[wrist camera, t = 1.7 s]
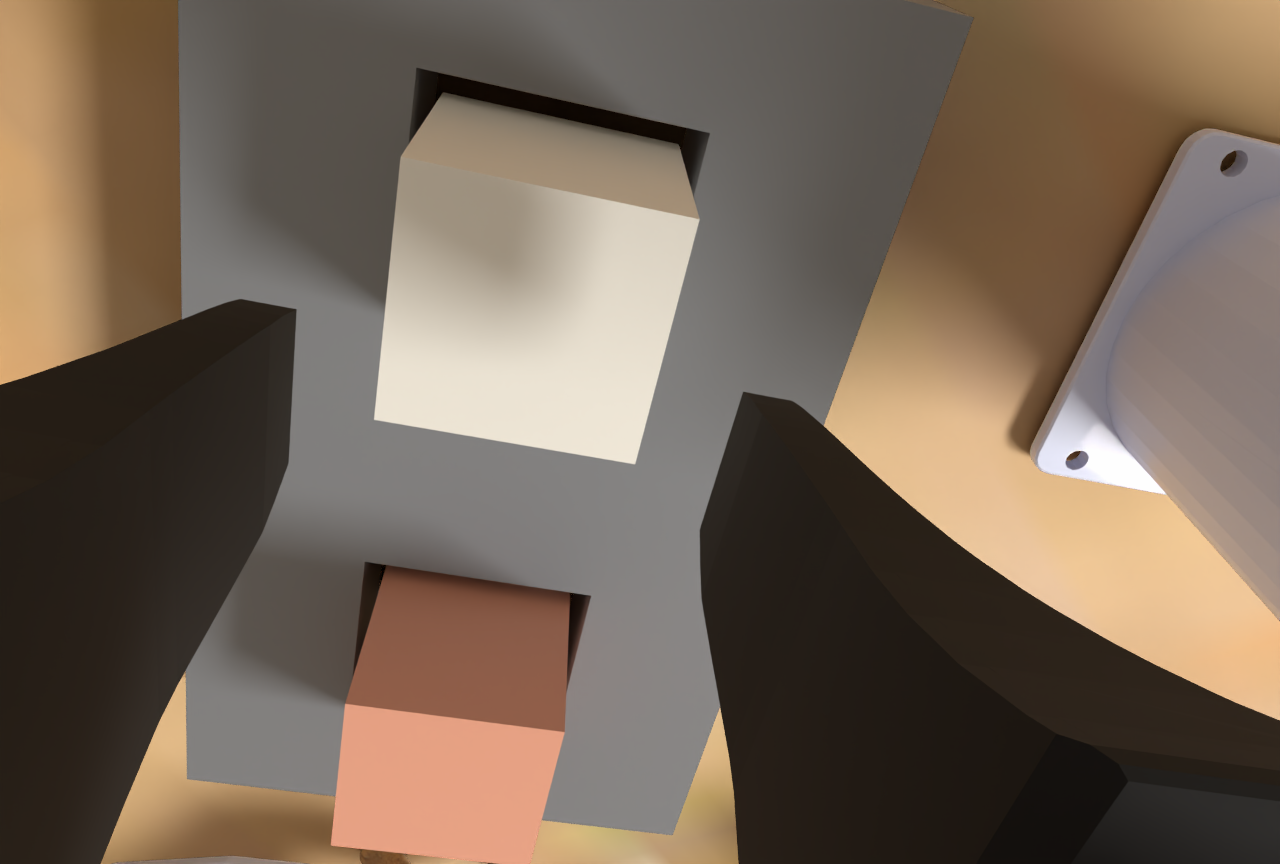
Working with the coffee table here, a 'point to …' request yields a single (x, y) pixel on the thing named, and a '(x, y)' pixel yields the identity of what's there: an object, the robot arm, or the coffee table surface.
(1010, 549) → the coffee table surface
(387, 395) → the cream cube
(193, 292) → the button housing
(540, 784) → the salmon pink block
